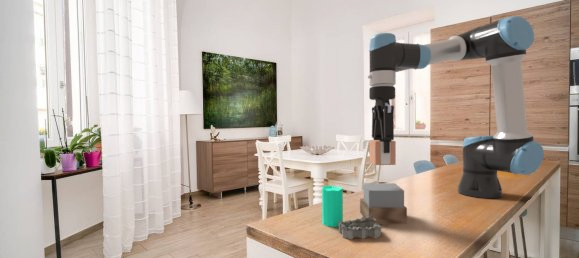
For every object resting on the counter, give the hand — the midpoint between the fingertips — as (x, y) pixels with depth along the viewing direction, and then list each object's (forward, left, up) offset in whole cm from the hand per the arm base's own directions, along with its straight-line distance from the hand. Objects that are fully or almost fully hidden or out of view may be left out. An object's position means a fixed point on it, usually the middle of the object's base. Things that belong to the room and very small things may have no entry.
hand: (381, 162), depth 94 cm
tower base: (0, 0, -18) cm, 18 cm away
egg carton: (+10, +12, -18) cm, 24 cm away
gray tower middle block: (0, 0, -13) cm, 13 cm away
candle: (+16, +4, -17) cm, 24 cm away
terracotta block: (0, 0, 0) cm, 0 cm away
